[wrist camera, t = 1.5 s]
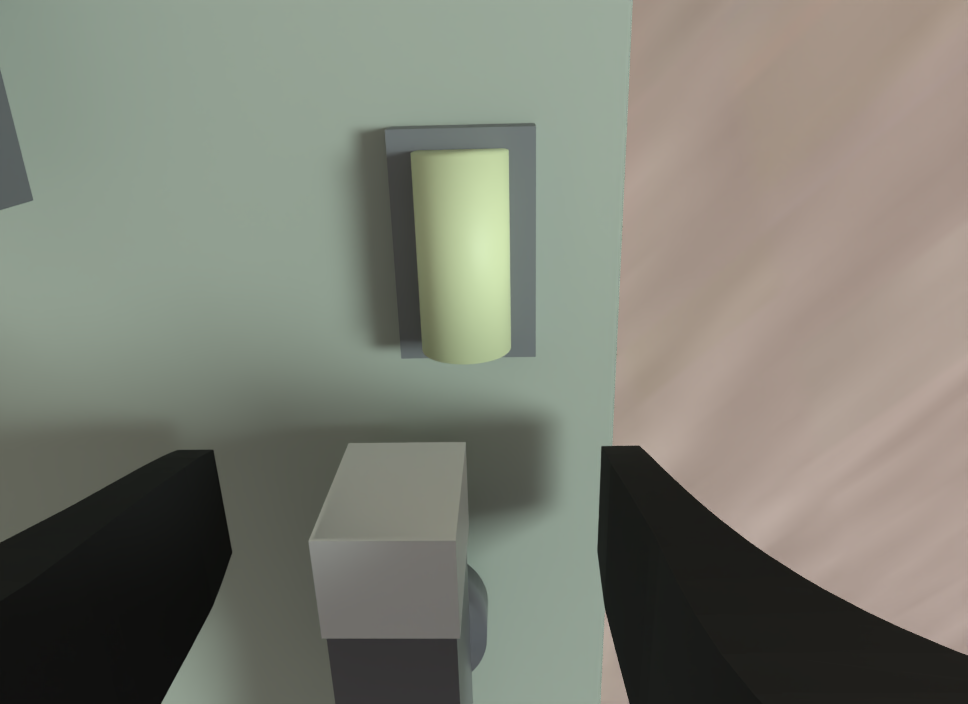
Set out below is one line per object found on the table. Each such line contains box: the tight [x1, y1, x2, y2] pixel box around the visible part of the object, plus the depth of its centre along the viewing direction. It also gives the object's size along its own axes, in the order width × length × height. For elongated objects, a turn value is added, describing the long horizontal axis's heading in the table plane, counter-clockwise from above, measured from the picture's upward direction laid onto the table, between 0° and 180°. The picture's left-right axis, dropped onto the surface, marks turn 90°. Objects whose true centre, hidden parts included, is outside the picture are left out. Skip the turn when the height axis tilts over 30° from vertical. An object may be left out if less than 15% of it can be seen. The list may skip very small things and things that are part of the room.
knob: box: [308, 442, 488, 704], centre depth 12 cm, size 8×2×4 cm, turn 1°
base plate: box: [0, 0, 633, 704], centre depth 12 cm, size 24×14×3 cm, turn 1°
